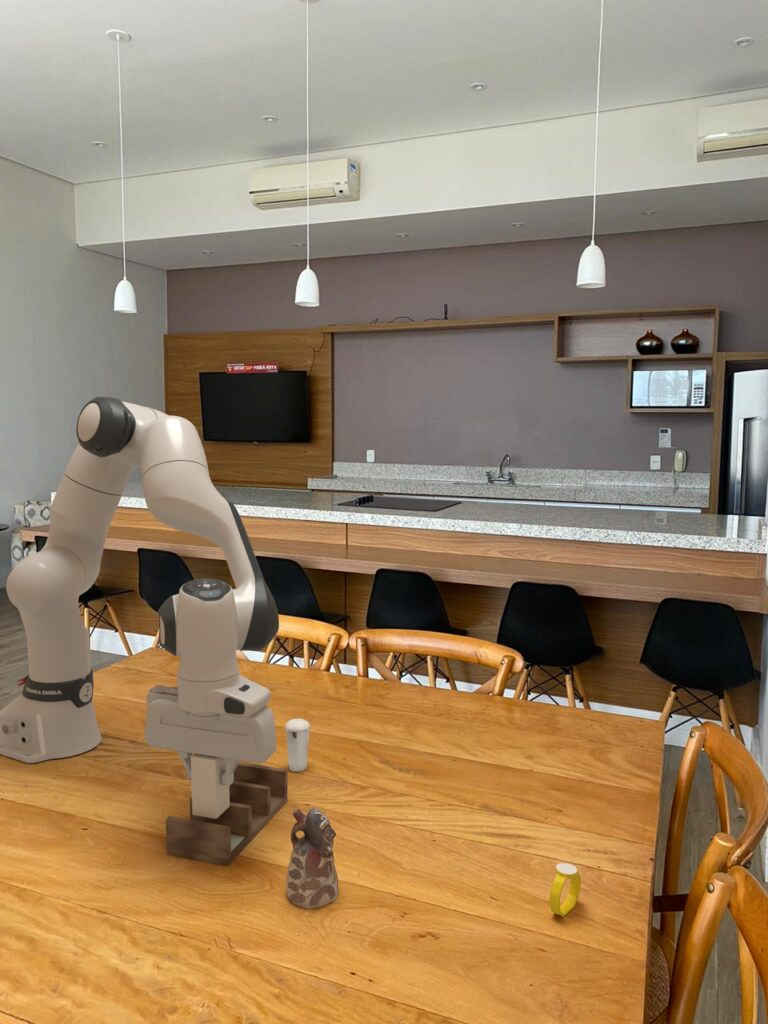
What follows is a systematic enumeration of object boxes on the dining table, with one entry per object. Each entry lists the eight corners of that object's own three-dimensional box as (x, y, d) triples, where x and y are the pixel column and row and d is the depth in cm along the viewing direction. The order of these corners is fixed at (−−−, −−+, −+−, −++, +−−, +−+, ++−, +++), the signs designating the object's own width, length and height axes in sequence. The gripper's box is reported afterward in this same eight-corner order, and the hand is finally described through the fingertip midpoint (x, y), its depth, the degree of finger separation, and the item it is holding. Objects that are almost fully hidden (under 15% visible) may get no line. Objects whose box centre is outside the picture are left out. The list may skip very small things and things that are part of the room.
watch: (565, 898, 109) (568, 856, 108) (584, 907, 107) (587, 863, 106) (543, 915, 104) (546, 871, 104) (562, 924, 102) (565, 879, 102)
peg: (192, 814, 118) (190, 756, 117) (206, 802, 122) (204, 745, 121) (216, 818, 117) (215, 760, 116) (229, 806, 121) (228, 749, 120)
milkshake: (310, 775, 144) (310, 721, 143) (281, 772, 145) (281, 719, 144) (317, 764, 149) (317, 712, 147) (289, 761, 150) (289, 710, 149)
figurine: (331, 912, 105) (331, 825, 103) (279, 905, 106) (278, 819, 104) (343, 881, 112) (344, 799, 110) (294, 875, 113) (294, 794, 111)
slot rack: (166, 854, 118) (165, 818, 117) (234, 791, 138) (233, 761, 137) (227, 866, 115) (227, 830, 114) (287, 800, 135) (287, 769, 134)
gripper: (134, 690, 117) (137, 780, 119) (261, 706, 111) (262, 801, 113) (158, 677, 123) (161, 762, 125) (280, 691, 117) (281, 781, 119)
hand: (210, 781), depth 119 cm, fingers closed on peg, 4 cm apart
